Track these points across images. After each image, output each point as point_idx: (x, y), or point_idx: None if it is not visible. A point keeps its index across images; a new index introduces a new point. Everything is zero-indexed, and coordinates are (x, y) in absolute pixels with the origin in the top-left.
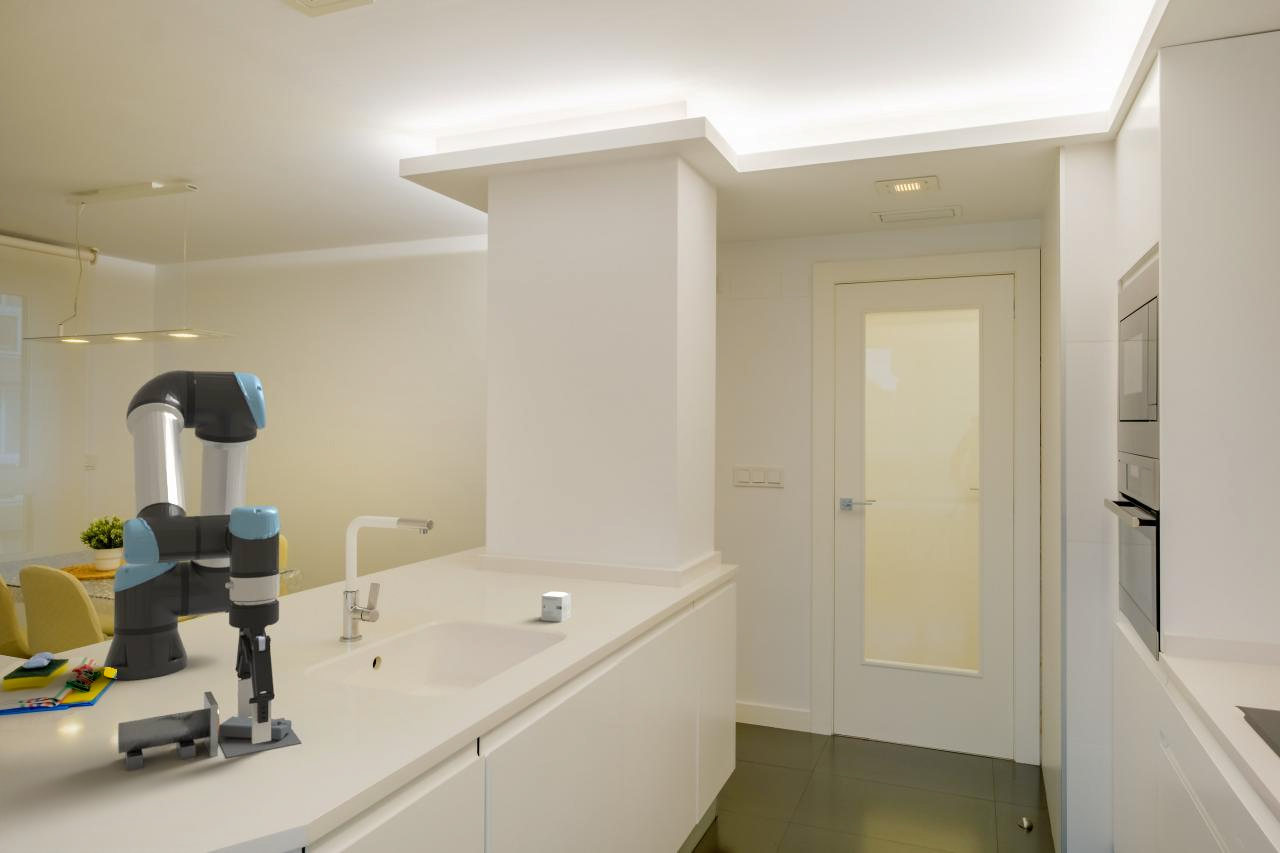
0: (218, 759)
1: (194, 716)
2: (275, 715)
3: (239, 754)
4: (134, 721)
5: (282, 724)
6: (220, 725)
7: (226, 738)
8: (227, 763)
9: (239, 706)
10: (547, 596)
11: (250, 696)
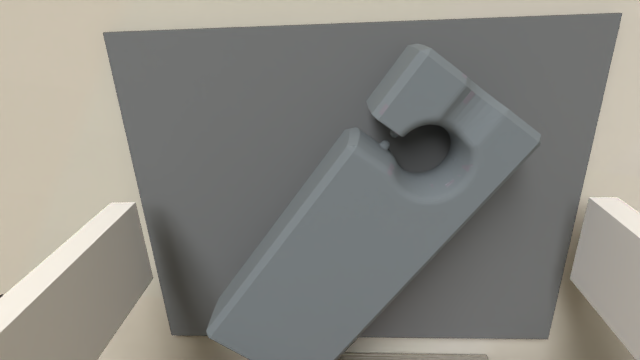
0: (525, 355)
1: None
2: (21, 64)
3: (550, 297)
4: None
5: (455, 113)
6: None
7: None
8: (598, 337)
9: (120, 321)
10: None
11: (71, 305)
